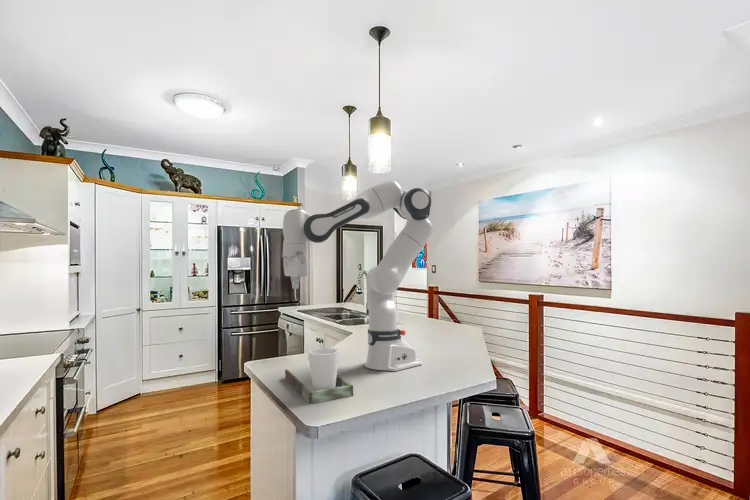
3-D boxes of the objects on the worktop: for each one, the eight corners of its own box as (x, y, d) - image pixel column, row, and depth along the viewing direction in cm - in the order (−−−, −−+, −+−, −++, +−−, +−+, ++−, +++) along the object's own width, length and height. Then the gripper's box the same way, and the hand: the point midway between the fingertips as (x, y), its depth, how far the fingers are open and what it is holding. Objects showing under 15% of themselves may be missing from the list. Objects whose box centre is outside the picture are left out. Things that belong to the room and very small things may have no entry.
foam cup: (341, 397, 112) (340, 353, 113) (310, 400, 110) (309, 355, 110) (336, 387, 121) (336, 347, 122) (307, 390, 119) (307, 349, 120)
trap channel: (321, 372, 139) (321, 364, 139) (353, 395, 114) (353, 385, 114) (285, 378, 132) (285, 369, 132) (309, 403, 107) (309, 393, 108)
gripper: (311, 250, 135) (311, 289, 135) (296, 253, 153) (296, 287, 153) (294, 250, 132) (294, 290, 132) (280, 253, 151) (280, 287, 150)
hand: (295, 288), depth 143 cm, fingers closed
